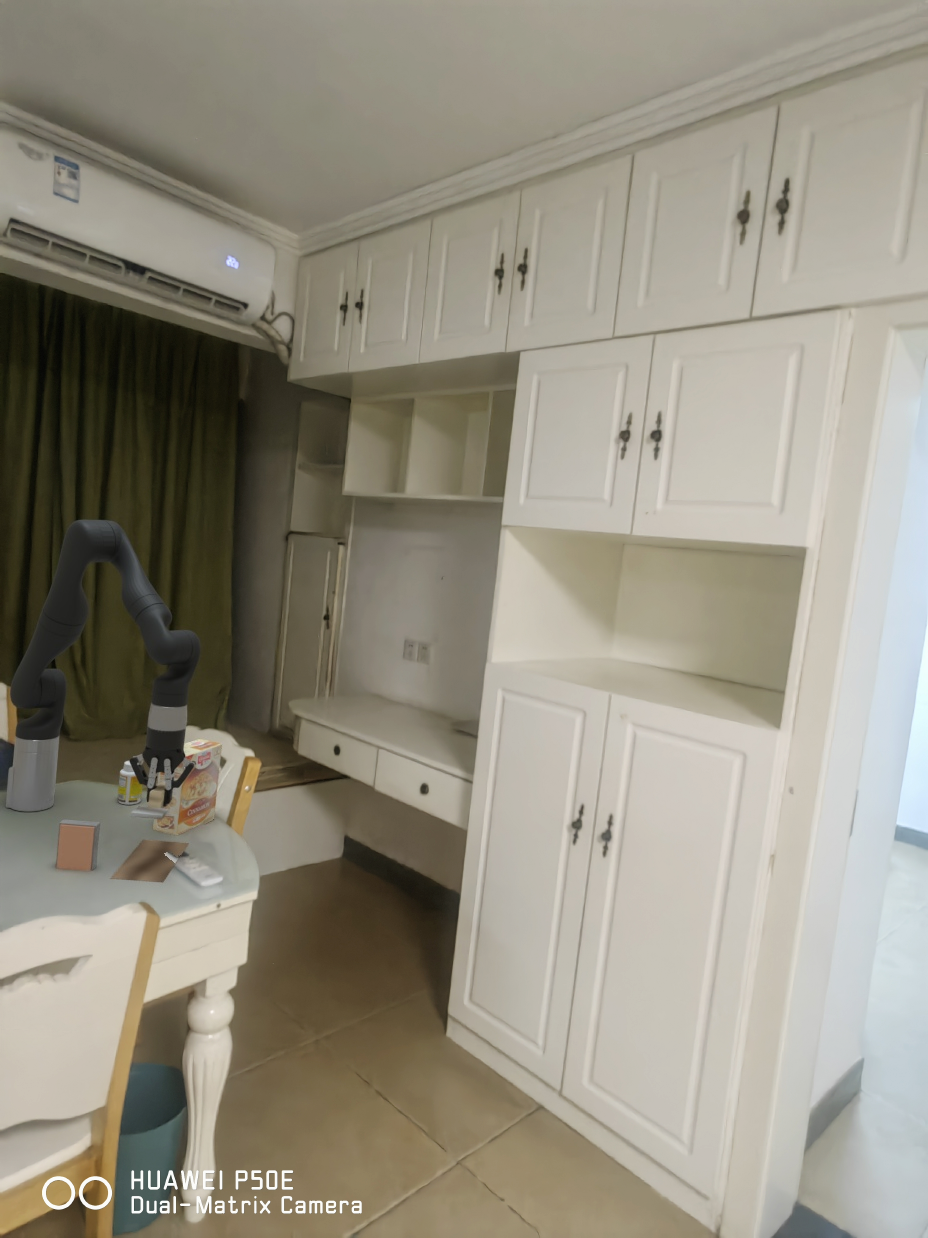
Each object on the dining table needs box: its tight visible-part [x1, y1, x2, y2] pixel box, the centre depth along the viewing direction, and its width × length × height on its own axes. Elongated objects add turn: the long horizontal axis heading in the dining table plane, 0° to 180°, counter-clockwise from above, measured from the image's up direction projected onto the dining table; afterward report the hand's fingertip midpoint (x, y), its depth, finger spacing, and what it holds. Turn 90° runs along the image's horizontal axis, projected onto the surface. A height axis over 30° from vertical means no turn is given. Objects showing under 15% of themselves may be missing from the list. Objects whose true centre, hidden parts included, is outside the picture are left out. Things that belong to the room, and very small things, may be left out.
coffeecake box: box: [152, 738, 223, 836], centre depth 179 cm, size 15×7×20 cm, turn 164°
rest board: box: [110, 839, 190, 883], centre depth 158 cm, size 10×20×1 cm, turn 6°
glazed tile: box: [55, 818, 101, 872], centre depth 150 cm, size 7×2×10 cm, turn 96°
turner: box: [130, 782, 169, 820], centre depth 157 cm, size 14×6×4 cm, turn 6°
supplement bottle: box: [117, 760, 144, 806], centre depth 190 cm, size 6×6×10 cm
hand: (158, 804), depth 158 cm, fingers closed on turner, 2 cm apart
